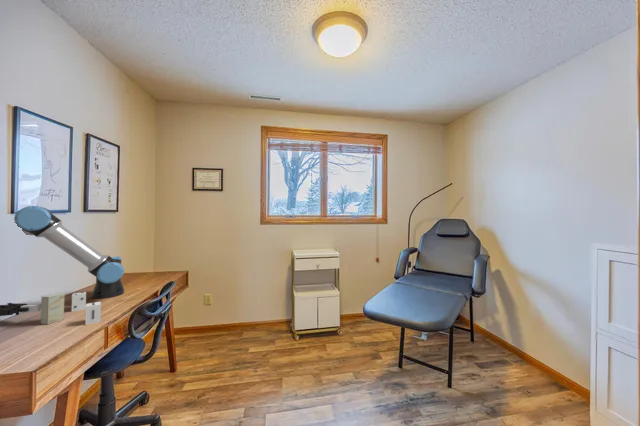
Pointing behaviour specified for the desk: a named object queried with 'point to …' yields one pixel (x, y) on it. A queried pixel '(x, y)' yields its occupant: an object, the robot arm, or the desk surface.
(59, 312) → the skincare box
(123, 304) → the desk surface
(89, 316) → the marked block one
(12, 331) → the desk surface
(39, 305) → the robot arm
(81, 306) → the marked block two
